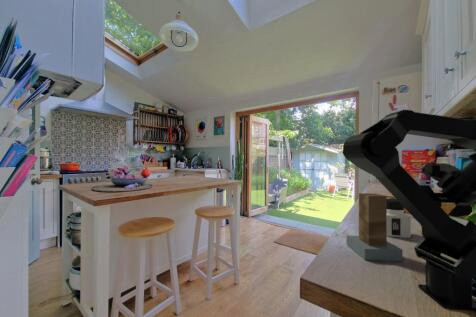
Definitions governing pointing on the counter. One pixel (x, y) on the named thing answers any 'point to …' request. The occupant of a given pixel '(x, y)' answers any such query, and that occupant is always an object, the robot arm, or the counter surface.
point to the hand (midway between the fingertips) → (431, 216)
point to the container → (397, 220)
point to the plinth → (374, 250)
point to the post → (373, 219)
